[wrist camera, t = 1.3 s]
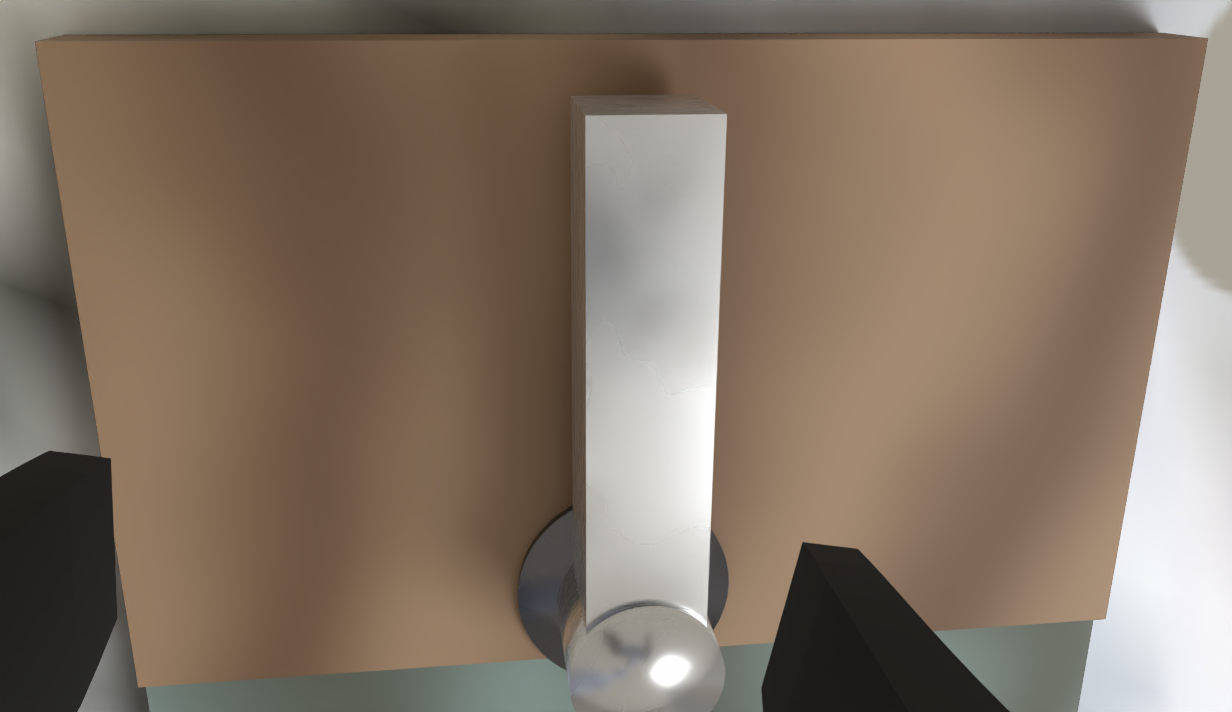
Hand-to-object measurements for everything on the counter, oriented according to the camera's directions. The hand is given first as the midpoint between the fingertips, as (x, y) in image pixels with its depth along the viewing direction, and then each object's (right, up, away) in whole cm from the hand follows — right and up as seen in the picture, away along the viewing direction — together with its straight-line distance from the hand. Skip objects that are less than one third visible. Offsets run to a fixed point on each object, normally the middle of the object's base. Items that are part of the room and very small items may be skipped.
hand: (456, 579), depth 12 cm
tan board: (+2, -3, +11) cm, 12 cm away
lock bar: (+2, +2, +8) cm, 8 cm away
